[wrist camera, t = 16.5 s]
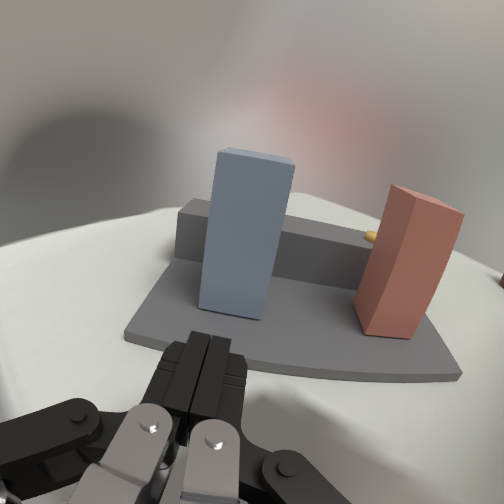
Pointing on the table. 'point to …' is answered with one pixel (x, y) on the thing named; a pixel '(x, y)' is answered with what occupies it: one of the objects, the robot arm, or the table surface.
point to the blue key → (243, 230)
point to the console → (292, 309)
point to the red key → (405, 263)
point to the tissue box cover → (502, 281)
